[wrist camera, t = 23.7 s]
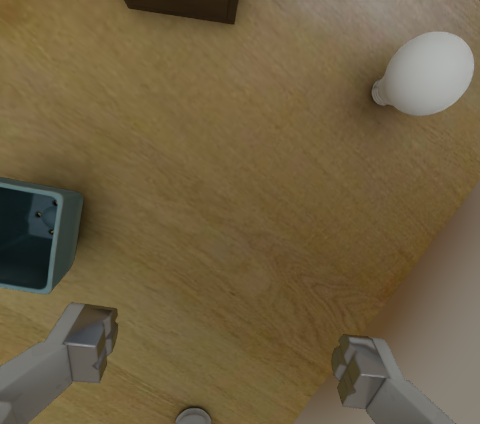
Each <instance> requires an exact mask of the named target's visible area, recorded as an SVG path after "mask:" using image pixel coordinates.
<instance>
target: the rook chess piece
mask: <svg viewBox="0 0 480 424" xmlns="http://www.w3.org/2000/svg"><path fill="white" fill-rule="evenodd" d="M176 424H211V420H210V417H209V415H208V414H207V413H206V412H205V411H204V410H202V409H199V408H189V409H186V410H185V411H183V412H182V413H181V414H180V415H179V416H178V418H177V419H176Z"/></svg>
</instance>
